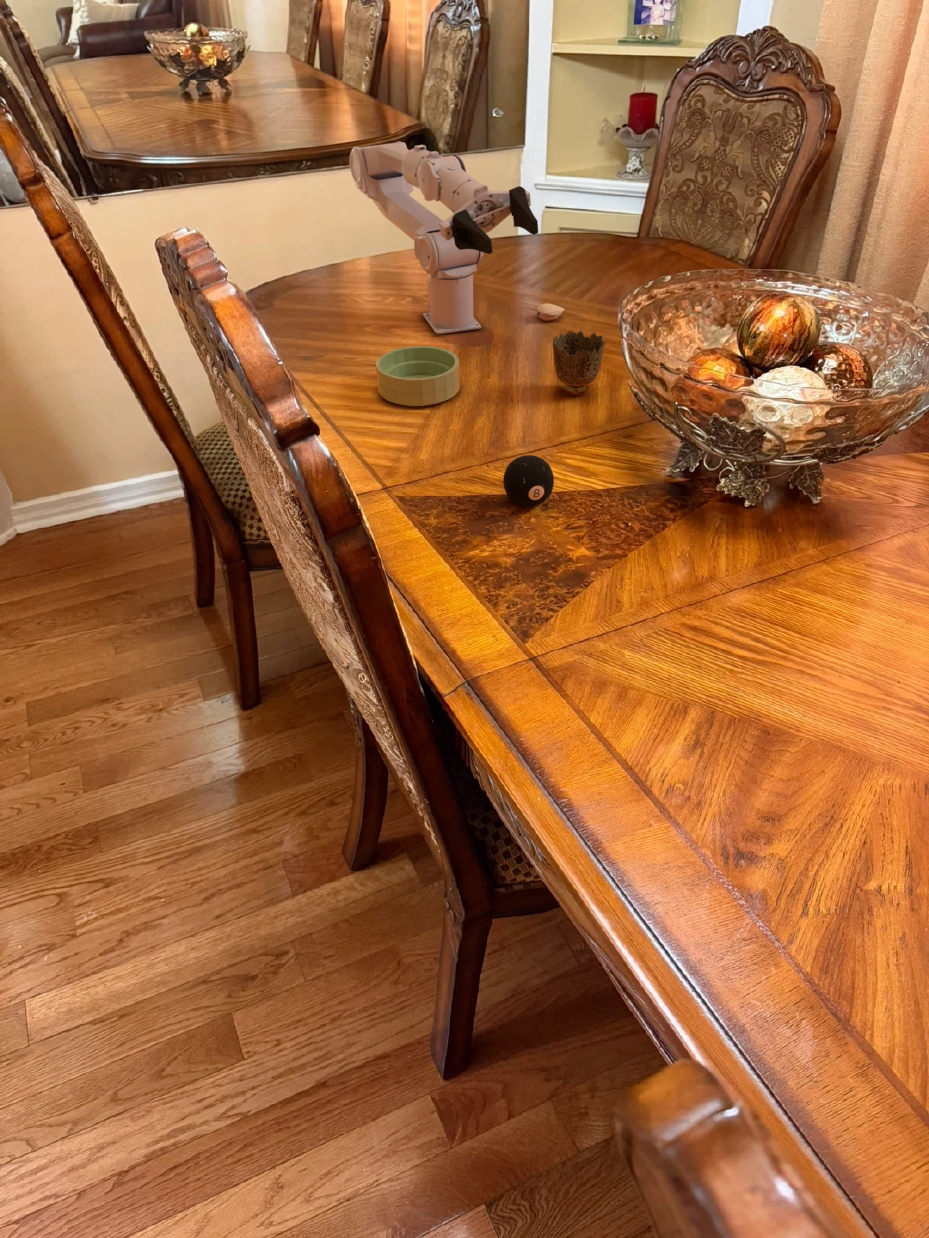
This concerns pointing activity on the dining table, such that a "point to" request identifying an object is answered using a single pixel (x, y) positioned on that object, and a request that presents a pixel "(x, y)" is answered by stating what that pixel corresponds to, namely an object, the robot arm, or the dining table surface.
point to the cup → (577, 360)
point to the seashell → (549, 311)
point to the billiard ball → (528, 480)
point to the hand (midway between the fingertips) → (512, 237)
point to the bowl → (418, 375)
